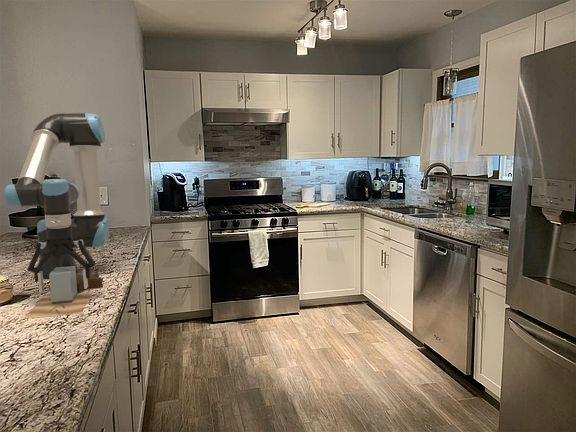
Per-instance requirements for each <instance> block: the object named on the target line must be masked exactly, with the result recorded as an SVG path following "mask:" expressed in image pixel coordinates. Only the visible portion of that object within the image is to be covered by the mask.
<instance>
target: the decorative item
mask: <svg viewBox="0 0 576 432" xmlns="http://www.w3.org/2000/svg"><path fill="white" fill-rule="evenodd" d="M90 275H91V276H90V278H87V279H88V287H87V289H84V280H83V274H76V282H77V293H84V292H85V291H86V290H87V291H88V290H90V289H99V288H103V287H104V285H103V280H104V279H103V278H102V277H100V274H99V273H96V272H95V273H90Z"/></svg>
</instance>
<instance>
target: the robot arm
mask: <svg viewBox="0 0 576 432" xmlns="http://www.w3.org/2000/svg"><path fill="white" fill-rule="evenodd" d="M30 138H31V145H30V148H29V150H28V153H27V155H26V158H25V160H24V164H23V167H22V168H21V171H20V175H19V177H18V179H17V182H16V184H15V183H12V184H7V185H6V187H5V188H4V191H3V193H4V200H5V202H6V204H7V205H8V206H9V207H18V208H20V207H21V208H23V207H44V208H43V209H44V219H41V220H39V221H38V222H37V223H36V224H37V225H36V229H37V230H36V234H37V243H36V244H35V245H36V246H35V247H36V248H35V252H34V254H33V256H32V258H31V260H30V263H29V265H28V267H27V269H26V270H27V271H28V272H32V273H33V275H34V280H35V283H38V289H39V291H38V292H39V293H43V292H44V291H45V284H44V279H50V278H49V274H50V273H51V272H52V271H53V270H54V269H55V268H56V267H69V266H75V270H76V274H77V273H78V265H77V263H78V264H79V265H81V266H82V267H83V269H82V275H83V280H84V289H87V287H88V279H87V278H90V276H91V275H90V274H91V268H95V267H96V261H95V260H94V258H93V257H92V255H91V253H90V252H89V250H88V249H87V248H95V247H96V248H97V247H98V248H99V247H103V246H105V245H106V244H107V242H108V240H109V236H110V219H109V218H107V217H105V216H106V215H105V213H104V212H103V211H102V210H101V204H100V202H101V199H100V181H99V179H100V178H99V160H98V152H99V150H100V149H102V145H101V144H103V143H105V141H106V139H105V138H106V134H105V129H104V125H103V122H102V119H101V117H100V116H99V115H98V114H96V113H89V112H88V113H87V112H85V113H83V112H81V113H79V112H76V113H63V112H62V113H61V112H60V113H54V114H51V115H49V116H47V117H45V118H44V119H43V120H41V121H40V122H39V123H38V124H37V125H36V126H35V128H34V130H33V132H32V134H31V137H30ZM63 143H64V144H69V148H70V149H71V150H72V151H73V154H74V155H73V156H74V158H73V159H74V175H75V177H74V178H75V183H72V182H68V180H67V179H64V178H53V179H50V178H49V179H45V177H46V173H47V171H48V167H49V165H50V162H51V158H52V157H53V153H54V150H55V149H56V148H58V147H59V144H63ZM74 203H76V206H77V207H76V208H77V209H76V210H77V211H76V212H75V213H74V214H73V219H72V214H71V205H72V204H74ZM74 248H75V249H76V248H78V249H79V250H80V252H81V253H82V254H83V257H84V258H85V259H86V260H85V259H84V258H83V257H82V256H81V255H80V254H79V253H78V252H77V251H76V250H75V249H74ZM37 262H38V263H37ZM36 263H37V266H36ZM35 266H36V267H35ZM87 290H88V289H87Z"/></svg>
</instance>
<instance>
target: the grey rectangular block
mask: <svg viewBox="0 0 576 432" xmlns="http://www.w3.org/2000/svg"><path fill="white" fill-rule="evenodd" d="M76 275H77V273H76V270H75V266H69V267H56V268H55V269H54V270H53V271H52V272H51V273H50V274H49V278H48V279H49V288H50V296H51V301H52V304H61V303H72V302H73V300H74V299H75V297H76V296H77V282H76Z"/></svg>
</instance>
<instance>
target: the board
mask: <svg viewBox="0 0 576 432" xmlns="http://www.w3.org/2000/svg"><path fill="white" fill-rule="evenodd" d="M93 294H94V292H93V291H91V292H81V293H77V296H76V297H75V299H74V300H73V302H72V303H61V304H52V301H51V295H43V296H42V297H41V298H40V299H39V301H37V303H36V304H35V305H34V306H33V307H32V308H31V309H30V310H29V312H27V314H26V315H25V316H24V317H23V320H27V319H37V318H38V319H39V318H49V317H50V318H51V317H59V316H61V317H62V316H63V317H64V316H70V315H71V316H72V315H82V314H83V311H84V310H85V309H86V306H87V304H88V303H89V301H90V299H91V297H92V296H93Z"/></svg>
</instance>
